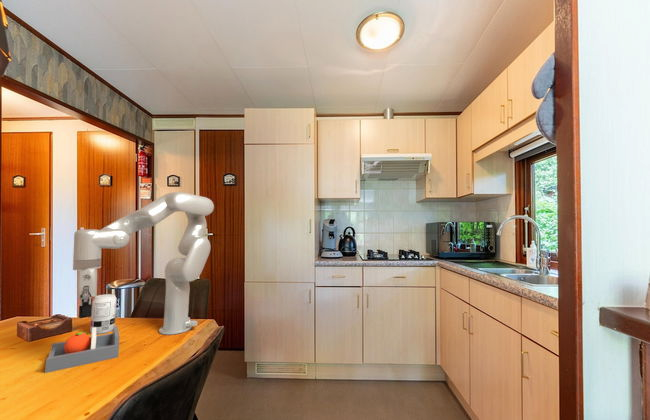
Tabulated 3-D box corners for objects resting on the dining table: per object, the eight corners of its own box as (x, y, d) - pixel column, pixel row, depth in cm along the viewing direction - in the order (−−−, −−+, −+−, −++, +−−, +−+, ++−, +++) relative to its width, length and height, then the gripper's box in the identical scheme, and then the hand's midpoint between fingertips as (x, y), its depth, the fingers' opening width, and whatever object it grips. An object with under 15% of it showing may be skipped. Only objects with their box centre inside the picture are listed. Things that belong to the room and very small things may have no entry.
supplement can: (85, 333, 117) (88, 297, 118) (105, 327, 125) (108, 293, 126) (98, 335, 115) (101, 298, 116) (118, 329, 123) (121, 294, 124)
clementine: (78, 349, 100) (77, 329, 100) (98, 347, 100) (97, 327, 100) (58, 360, 92) (57, 339, 92) (80, 358, 92) (79, 337, 92)
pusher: (94, 345, 103) (96, 327, 103) (94, 357, 94) (96, 336, 94) (90, 346, 102) (92, 327, 102) (90, 358, 93) (91, 337, 93)
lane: (115, 343, 108) (117, 325, 108) (118, 357, 96) (119, 336, 97) (51, 355, 96) (52, 335, 97) (45, 372, 85) (47, 349, 85)
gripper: (101, 266, 94) (99, 317, 93) (100, 260, 107) (99, 306, 106) (71, 268, 89) (69, 323, 88) (74, 262, 102) (72, 309, 102)
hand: (85, 313), depth 97 cm, fingers open, 9 cm apart
